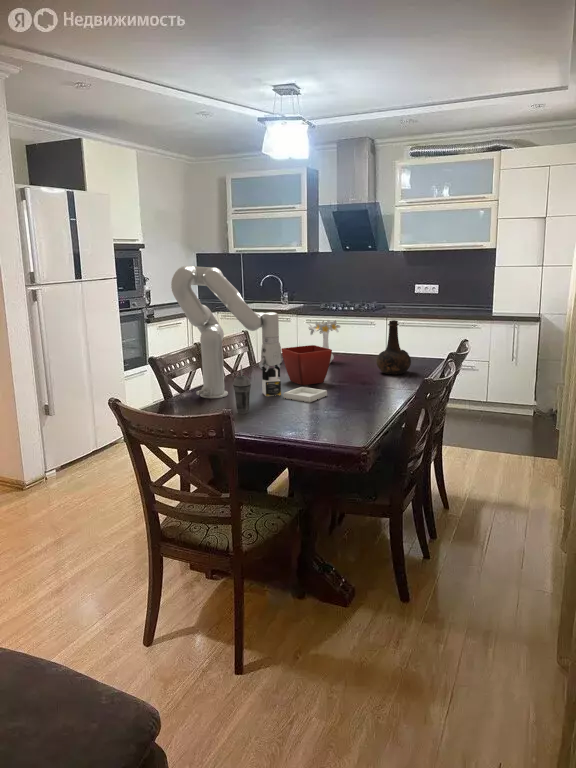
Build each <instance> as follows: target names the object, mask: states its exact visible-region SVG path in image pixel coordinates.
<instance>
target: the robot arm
mask: <svg viewBox="0 0 576 768" xmlns="http://www.w3.org/2000/svg"><path fill="white" fill-rule="evenodd" d="M170 284H171V285H170V286H171V287H170V288H171V292H172V295H173V296H174V298H175V300H176V302H177V304H178V305H179V307H180V309H181V310H182V312H183V313H184V315H185V316H186V318H187V320H188V322H189V323H190V324H191V325H192V326H193V327H195V328H196V329H198V331H199V333H200V336H199V337H200V338H199V340H200V349H201V350H200V351H201V364H202V366H201V367H202V383H203V386H202V387H201V389H199V390H196V392H195V394H196V395H197V396H200V397H201V398H205V399H221V398H226V397H227V396H229V392H228V391H227V390H225V379H224V378H225V376H224V375H225V373H224V371H225V370H224V352H223V351H224V350H223V340H224V335H225V333H224V330H223V328H222V326H221V325H220V323H219V321H218V320H217V318H216V317H215V316H214V314H213V312H212V311H211V309H210V308H209V307H208V306H207V305H205V304H202V303H201V301H200V299H199V298H198V296H197V294H196V293H195V292H194V291H193V289H192V286H200V287H201V286H205V287H207V288H208V289H209V290H210V291H211V292H212V293H213V294H214V295H215V297H217V298H218V300H219V301H220V302H221V303H222V304H223V305H224V306H225V307H226V309H227V310H228V311H230V313H231V314H232V315H233V317H234V318H236V320H238V322H239V323H240V324H241V325H242V326H243V327H244V328H245V329H247V330H248V331H250V332H255V331H257V330H259V329H261V340H262V343H261V349H260V353H261V354H260V361H259V363H258V367H259V369H260V370H261V374H262V376H261V377H262V379H263V380H267V381H268V380H269V372H267V371H268V368H270V367H273V368H275V369H277V370H278V378H280V377H281V368H282V363H283V361H284V359H283V355H282V350H281V349H282V347H281V344H280V334H279V333H280V331H279V329H280V328H279V327H280V325H279V323H280V322H279V314H278V313H277V312H272V311H271V312H270V311H269V312H256V311H253V309H252V308H251V307H250V306H249V305H248V303H247V302H245V300H244V299H243V297H242V295H241V293H240V292H239V290H238V289H237V288H236V287H235V286H234V285H233V284H232V283H231V282H230V281H229V280H228V279H227V277H225V276H224V274H223V272H222V271H221V269H220V268H217V267H212V266H211V267H209V266H208V267H206V266H195V265H184V266H181V267H179V268H177V270H176V271H175V272H174V274H173V275H172V278H171V282H170Z"/></svg>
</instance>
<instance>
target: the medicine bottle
mask: <svg viewBox="0 0 576 768" xmlns="http://www.w3.org/2000/svg"><path fill="white" fill-rule="evenodd" d="M267 372H269V380H268V381H267V380H263V379H262V381H261V382H262V383H261V384H262V387H261V388H262V394H263V395H264V396H265V397H275V396H276V395H279V396H281V395H282V381H281V379H279V377H278V370H277V369H275V367H269V368H268V371H267ZM274 395H275V396H274ZM276 397H277V396H276Z"/></svg>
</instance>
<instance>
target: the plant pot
mask: <svg viewBox="0 0 576 768" xmlns="http://www.w3.org/2000/svg"><path fill="white" fill-rule="evenodd" d="M331 354H333V349H331V348H329V349H328V348H324V347H323V346H319V345H313V344H310V345H299V346H291V347H281V355H282V358H283V363H284V366H285V370H286V373H287V375H288V378H289V380H290V382H292V383H295V384H297V385H299V386H306V385H308V386H309V385H314V384H322V383H324V382H325V380H326V376H327V374H328V371H329V367H330V364H331V363H330V360H331Z"/></svg>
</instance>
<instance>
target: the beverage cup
mask: <svg viewBox="0 0 576 768" xmlns="http://www.w3.org/2000/svg"><path fill="white" fill-rule="evenodd" d="M232 385H233V391H234V397H235V403H236V404H235V405H236V411H237V412H238V413H239V414H238V413H237V414H238V415H246V414H245V413H247V414H248V413H249V409H250V394H251V386H252V384H251V380H250V378H249V377H248V376H247V375H244V374H243V365H242V364H240V375H237V376H236V377H235V378H234V379H233V384H232Z"/></svg>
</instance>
